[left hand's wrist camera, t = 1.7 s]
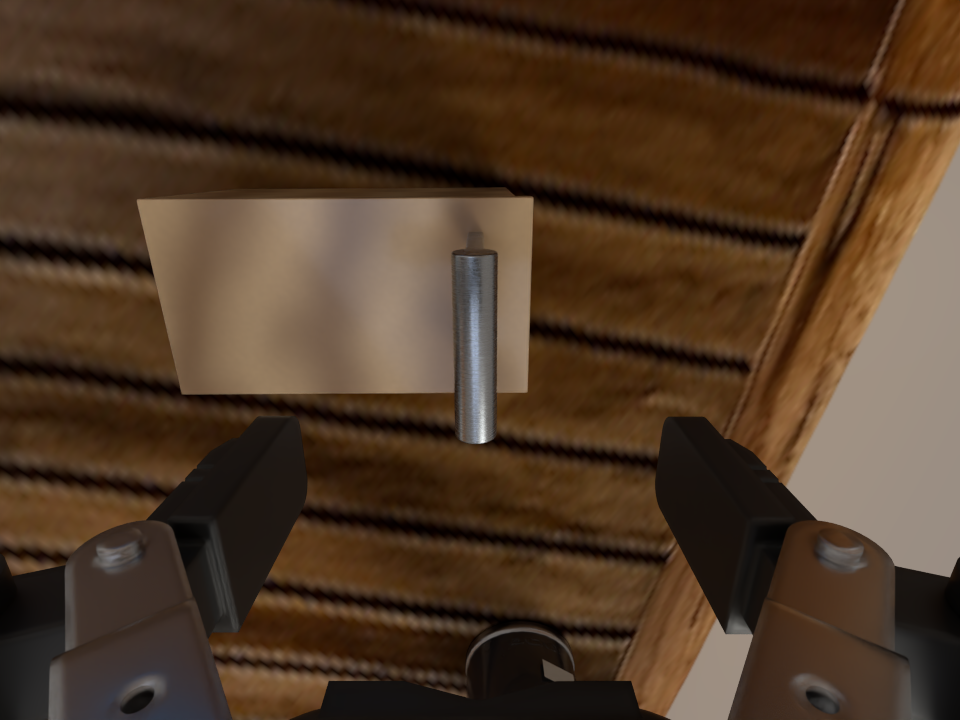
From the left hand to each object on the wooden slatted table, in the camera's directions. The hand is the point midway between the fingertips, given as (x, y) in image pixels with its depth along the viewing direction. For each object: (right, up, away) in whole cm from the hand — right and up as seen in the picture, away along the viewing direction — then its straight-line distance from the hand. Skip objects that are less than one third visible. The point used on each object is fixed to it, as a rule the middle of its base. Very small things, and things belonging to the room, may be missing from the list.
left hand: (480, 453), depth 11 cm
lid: (-6, +5, +13) cm, 16 cm away
